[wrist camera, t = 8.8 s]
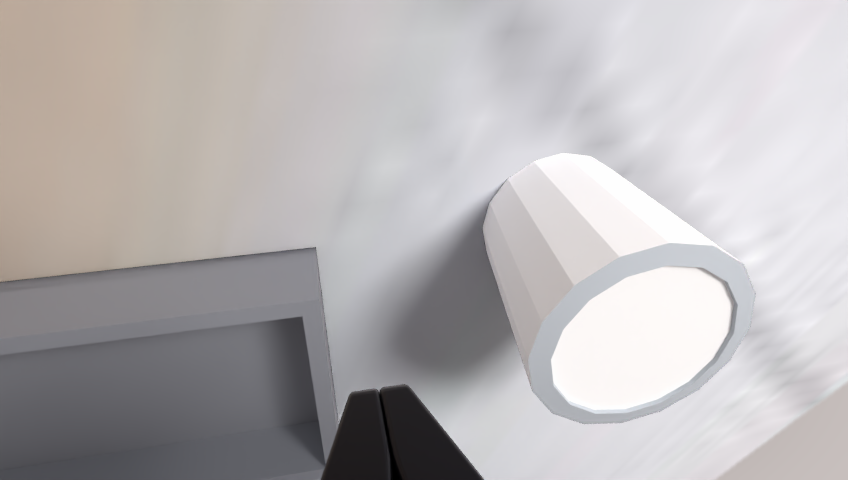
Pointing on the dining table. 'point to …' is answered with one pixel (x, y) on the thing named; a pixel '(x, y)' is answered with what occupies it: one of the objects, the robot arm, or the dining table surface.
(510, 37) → the dining table surface
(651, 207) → the shot glass
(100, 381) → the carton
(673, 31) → the dining table surface
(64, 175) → the dining table surface
